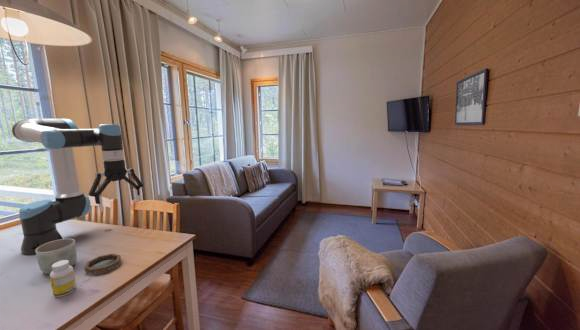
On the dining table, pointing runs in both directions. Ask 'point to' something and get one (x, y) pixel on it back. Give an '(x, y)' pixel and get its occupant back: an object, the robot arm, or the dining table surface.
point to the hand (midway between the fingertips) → (119, 206)
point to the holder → (102, 264)
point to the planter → (56, 253)
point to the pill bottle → (62, 278)
